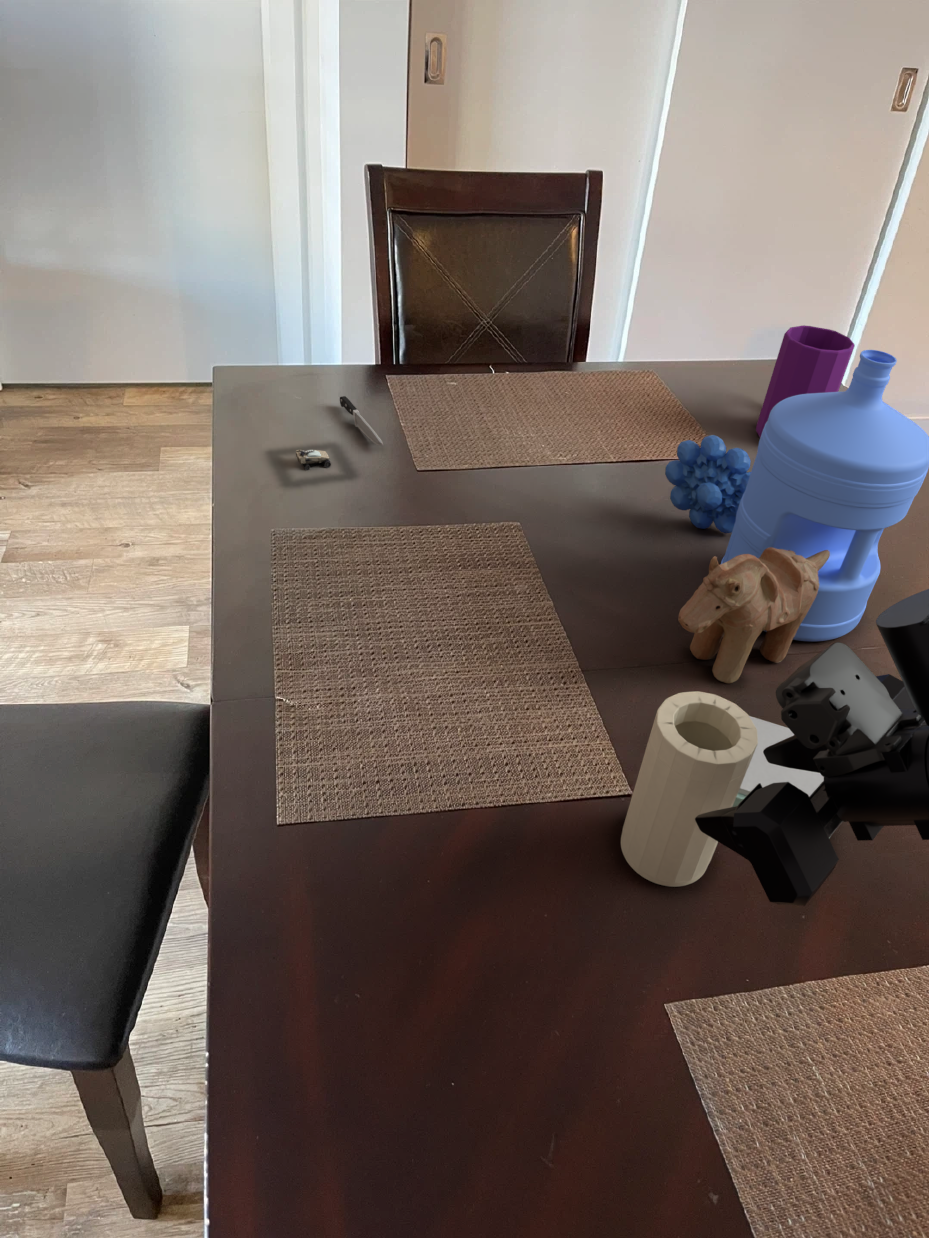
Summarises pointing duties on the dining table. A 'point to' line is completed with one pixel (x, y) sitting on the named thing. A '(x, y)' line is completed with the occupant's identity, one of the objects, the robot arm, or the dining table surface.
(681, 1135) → the dining table surface
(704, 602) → the figurine
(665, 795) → the jar
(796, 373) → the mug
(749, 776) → the scale
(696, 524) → the blue knobby flower
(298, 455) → the toy car
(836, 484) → the water jug
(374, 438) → the knife
